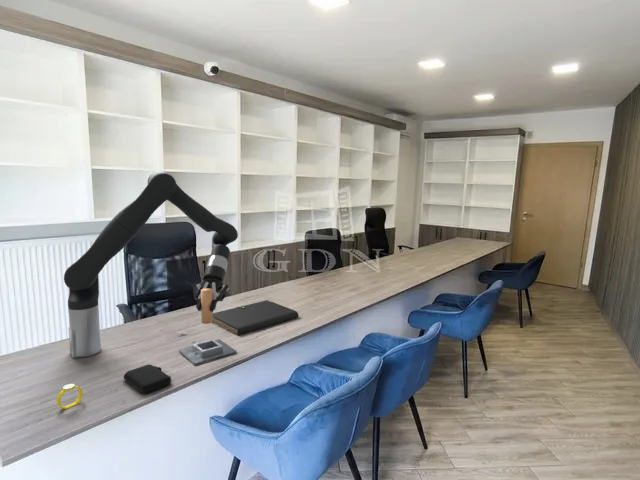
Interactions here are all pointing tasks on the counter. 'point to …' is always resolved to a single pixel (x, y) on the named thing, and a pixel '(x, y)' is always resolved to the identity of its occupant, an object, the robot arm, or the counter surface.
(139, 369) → the carrying case or bag
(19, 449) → the counter surface
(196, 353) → the mounting plate
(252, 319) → the black book
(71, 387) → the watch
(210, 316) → the post
